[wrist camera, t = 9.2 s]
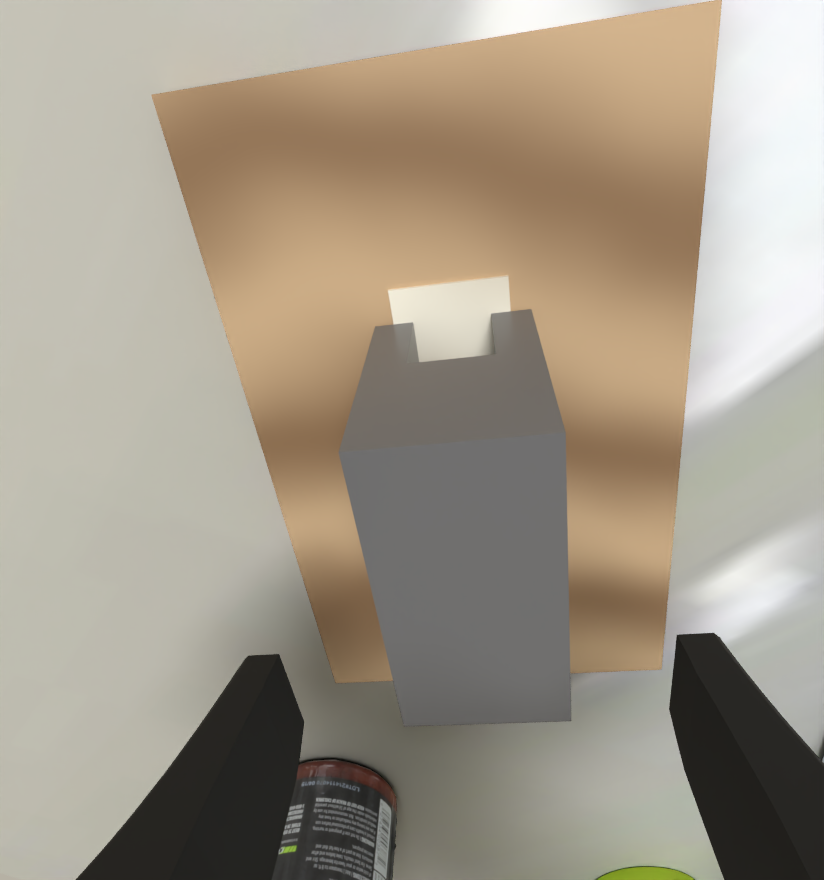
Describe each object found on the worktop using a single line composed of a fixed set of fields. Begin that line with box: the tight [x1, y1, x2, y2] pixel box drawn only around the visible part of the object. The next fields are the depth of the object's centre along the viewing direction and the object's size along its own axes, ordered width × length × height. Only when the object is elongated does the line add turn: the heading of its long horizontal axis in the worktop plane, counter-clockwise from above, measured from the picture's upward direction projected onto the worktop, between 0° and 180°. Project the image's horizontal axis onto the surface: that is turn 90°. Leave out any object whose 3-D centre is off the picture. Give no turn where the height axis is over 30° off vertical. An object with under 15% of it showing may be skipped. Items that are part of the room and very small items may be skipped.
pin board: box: [152, 0, 722, 683], centre depth 18 cm, size 20×12×3 cm, turn 8°
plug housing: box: [338, 309, 571, 726], centre depth 16 cm, size 8×4×6 cm, turn 8°
